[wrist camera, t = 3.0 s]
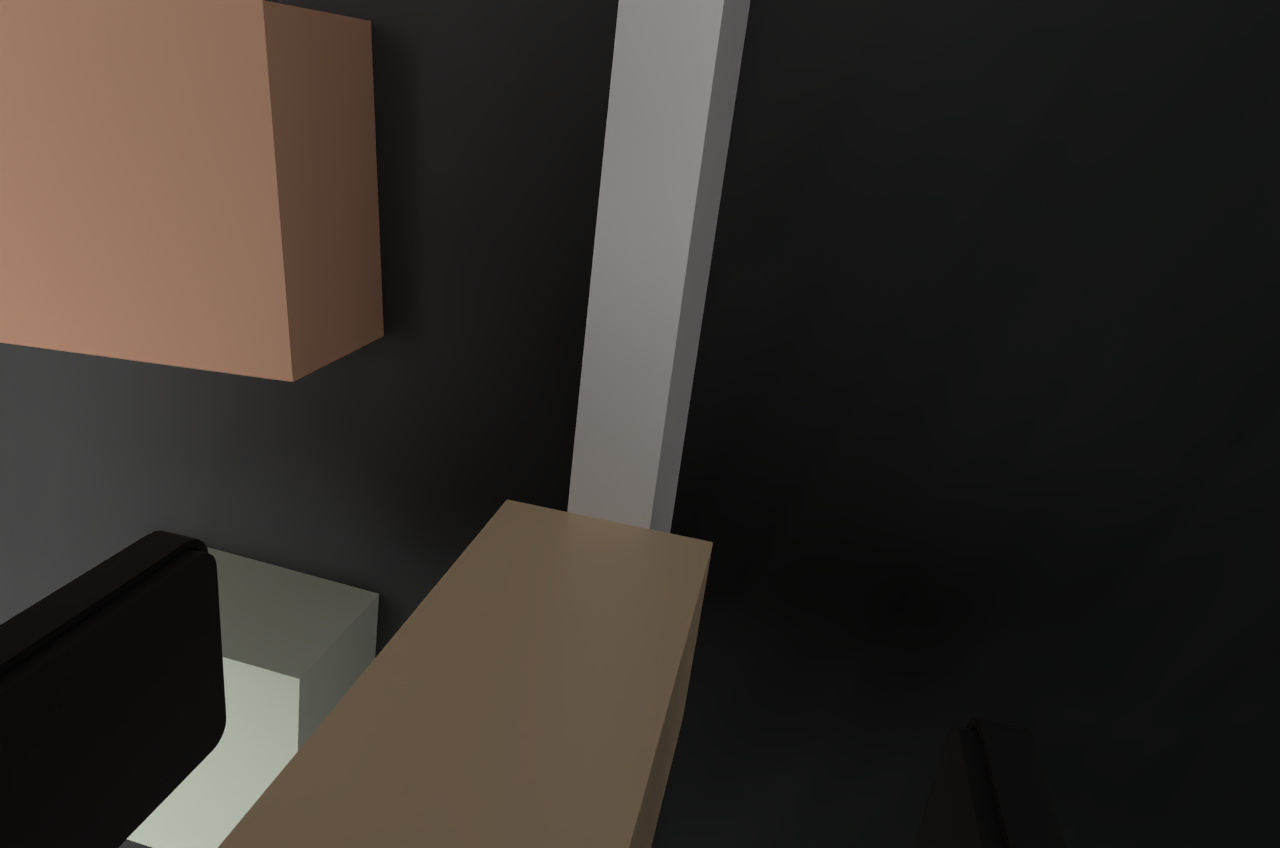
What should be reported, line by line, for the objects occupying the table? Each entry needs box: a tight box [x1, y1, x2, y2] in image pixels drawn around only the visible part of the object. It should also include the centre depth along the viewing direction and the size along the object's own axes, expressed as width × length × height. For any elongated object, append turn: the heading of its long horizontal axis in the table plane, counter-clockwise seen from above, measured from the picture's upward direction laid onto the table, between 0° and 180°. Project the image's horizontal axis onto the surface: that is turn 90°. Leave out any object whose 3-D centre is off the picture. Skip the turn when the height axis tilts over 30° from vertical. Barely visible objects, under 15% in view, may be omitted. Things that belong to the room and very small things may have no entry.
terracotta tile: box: [0, 0, 384, 382], centre depth 13 cm, size 5×5×3 cm
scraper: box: [218, 0, 750, 848], centre depth 11 cm, size 18×3×10 cm, turn 173°
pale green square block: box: [127, 532, 379, 848], centre depth 17 cm, size 5×5×3 cm
